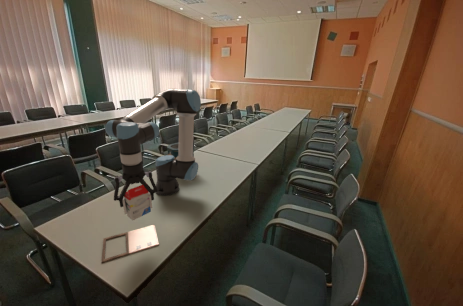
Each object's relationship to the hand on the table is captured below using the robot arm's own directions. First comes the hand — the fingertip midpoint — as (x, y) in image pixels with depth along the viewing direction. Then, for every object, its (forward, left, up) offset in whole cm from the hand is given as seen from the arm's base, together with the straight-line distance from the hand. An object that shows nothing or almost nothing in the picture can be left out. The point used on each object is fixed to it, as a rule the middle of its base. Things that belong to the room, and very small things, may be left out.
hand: (138, 209), depth 89 cm
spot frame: (+11, 0, -16) cm, 20 cm away
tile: (0, 0, -16) cm, 16 cm away
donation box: (-34, -65, -17) cm, 75 cm away
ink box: (0, 0, -3) cm, 3 cm away
